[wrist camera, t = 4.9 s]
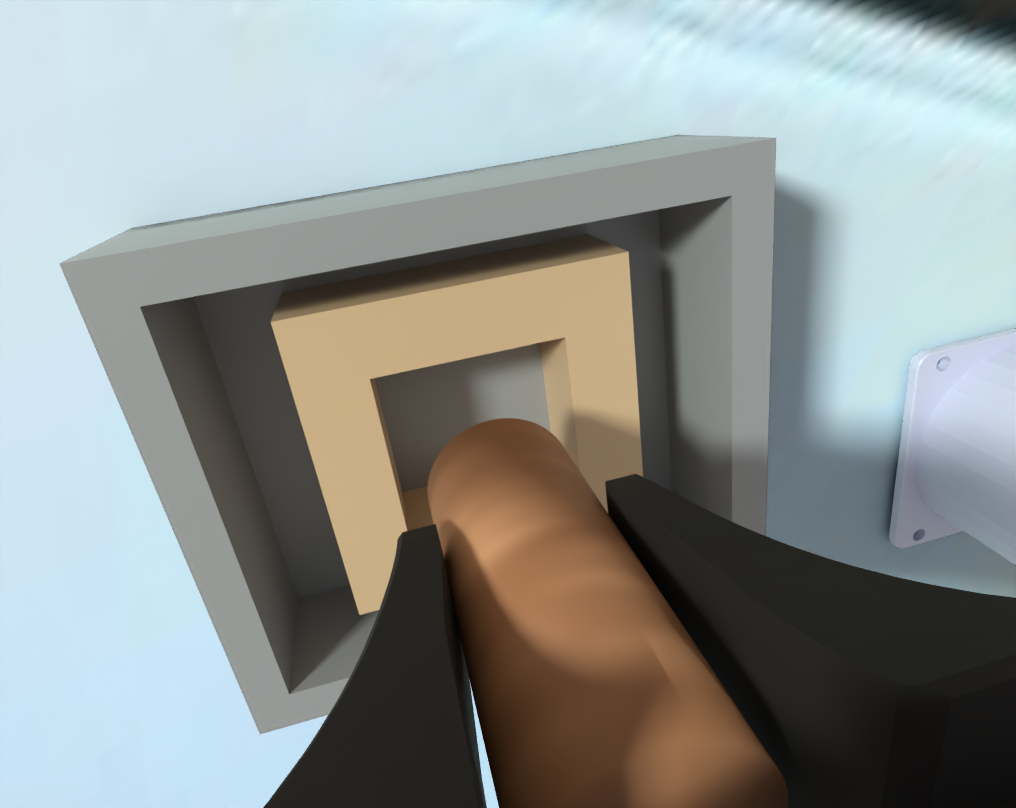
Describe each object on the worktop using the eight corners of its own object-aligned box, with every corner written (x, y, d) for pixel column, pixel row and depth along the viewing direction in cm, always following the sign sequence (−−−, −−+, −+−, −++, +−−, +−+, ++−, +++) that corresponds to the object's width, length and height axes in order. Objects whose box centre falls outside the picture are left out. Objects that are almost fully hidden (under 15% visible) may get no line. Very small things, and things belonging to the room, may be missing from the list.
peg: (562, 402, 14) (793, 707, 7) (577, 525, 15) (783, 884, 8) (413, 438, 14) (497, 804, 6) (442, 561, 15) (538, 975, 8)
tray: (677, 134, 18) (775, 137, 14) (689, 507, 23) (764, 589, 19) (132, 228, 16) (59, 263, 12) (276, 615, 21) (260, 734, 17)
